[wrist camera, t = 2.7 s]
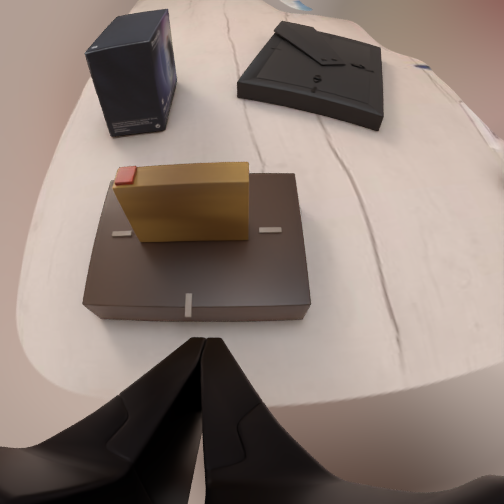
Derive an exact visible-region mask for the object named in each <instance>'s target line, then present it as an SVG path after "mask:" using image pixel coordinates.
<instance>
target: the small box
mask: <svg viewBox="0 0 504 504" xmlns="http://www.w3.org/2000/svg"><path fill="white" fill-rule="evenodd" d="M85 56H86V60H87V63H88V67H89V70H90V73H91V77H92V79H93V83H94V87H95V89H96V93H97V95H98V98H99V101H100V105H101V107H102V111H103V114H104V117H105V120H106V123H107V127H108V130H109V133H110V136H111V137H114V136H120V135H127V134H135V133H144V132H154V131H162V130H165V128H166V124H167V119H168V115H169V111H170V107H171V102H172V99H173V95H174V90H175V87H176V83H177V76H176V69H175V61H174V53H173V46H172V37H171V29H170V21H169V13H168V9H162V10H154V11H147V12H140V13H134V14H128V15H123V16H118V17H116V18H115V19H114V20H113V22H111V24H110V25H109V26H108V27H107V28H106V29H105V30H104V31H103V32H102V34H101V35H100V36H99V37H98V38H97V39H96V40H95V42H94V43H93V44H92V45H91V46H90V47H89V48H88V50H87V51H86V52H85Z"/></svg>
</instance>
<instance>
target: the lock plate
mask: <svg viewBox="0 0 504 504" xmlns="http://www.w3.org/2000/svg"><path fill="white" fill-rule="evenodd" d="M113 183H114V180H112V181H111V182H110V185H109V189H108V192H107V195H106V199H105V202H104V206H103V210H102V213H101V217H100V221H99V225H98V229H97V233H96V237H95V242H94V246H93V250H92V255H91V260H90V265H89V269H88V275H87V280H86V285H85V291H84V297H83V303H82V304H83V305H84V306H85V307H86V308H88V309H89V310H90V311H92V312H93V313H94V314H95V315H97V316H98V317H99V318H101V319H119V320H144V321H194V322H222V321H272V320H298V319H303V318H304V316H305V314H306V312H307V311H308V309H309V307H310V305H311V299H310V290H309V280H308V271H307V263H306V254H305V246H304V238H303V230H302V222H301V215H300V207H299V200H298V193H297V186H296V180H295V174H294V173H249V235H248V240H220V241H172V242H140V241H139V239H138V238H137V236H136V234H135V232H134V230H133V228H132V226H131V225H130V223H129V221H128V219H127V217H126V215H125V213H124V211H123V209H122V207H121V205H120V203H119V201H118V199H117V197H116V195H115V193H114V191H113V189H112V187H113Z"/></svg>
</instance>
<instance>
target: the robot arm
mask: <svg viewBox="0 0 504 504" xmlns="http://www.w3.org/2000/svg"><path fill="white" fill-rule="evenodd" d="M119 395H120V396H119ZM119 395H117V396H116V397H114V398H113V399H112V400H110V401H109V402H108V403H106V404H105V405H104V406H102V407H101V408H99V409H98V410H97V411H95V412H94V413H92V414H91V415H89V416H87V417H86V418H84V419H83V420H81V421H79V422H78V423H76V424H74V425H72V426H71V427H69V428H67V429H65V430H63V431H62V432H60V433H58V434H56V435H55V436H53V437H51V438H49V439H47V440H46V441H44V442H42V443H40V444H38V445H35V446H32V447H27V448H8V447H0V504H188V499H189V494H190V489H191V483H192V479H193V474H194V469H195V464H196V459H197V454H198V449H199V444H200V439H201V434H202V433H203V452H204V468H205V484H206V496H205V504H504V476H496V475H486V476H482V477H480V478H477V479H475V480H472V481H470V482H468V483H466V484H464V485H461V486H459V487H456V488H453V489H450V490H445V491H441V492H431V493H419V492H408V491H401V490H394V489H386V488H381V487H375V486H369V485H364V484H359V483H354V482H349V481H345V480H343V479H340V478H339V477H337V476H335V475H333V474H332V473H330V472H329V471H328V470H326V469H325V468H324V467H323V466H322V465H321V464H319V462H318V461H316V460H315V459H314V458H313V457H312V456H311V455H310V454H309V453H308V452H307V451H306V450H305V449H304V448H303V447H302V446H301V445H299V444H298V442H296V441H295V440H294V439H293V438H292V437H291V436H290V435H289V433H288V432H286V430H285V429H284V428H283V427H282V426H281V425H280V424H279V423H278V421H277V420H276V419H275V417H274V416H273V415H272V414H271V412H270V411H269V409H268V408H267V407H266V405H265V404H264V402H262V399H261V398H260V397H259V395H258V394H257V392H256V391H255V389H254V388H253V386H252V385H251V383H250V382H249V380H248V379H247V377H246V376H245V374H244V372H243V371H242V369H241V368H240V366H239V365H238V363H237V362H236V360H235V359H234V357H233V355H232V354H231V352H230V351H229V349H228V348H227V346H226V344H225V343H224V341H223V340H222V338H207V339H206V338H203V337H192V338H190V339H189V340H188V341H186V342H185V343H184V344H183V345H181V346H180V347H179V348H177V349H176V350H175V351H174V352H172V353H171V354H170V355H169V356H167V357H166V358H165V359H164V360H162V361H161V362H160V363H158V364H157V365H156V366H155V367H153V368H152V369H151V370H150V371H148V372H147V373H146V374H144V375H143V376H142V377H141V378H139V379H138V380H137V381H135V382H134V383H133V384H131V385H130V386H129V387H128V388H126V389H125V390H124V391H122V392H121V393H120V394H119Z"/></svg>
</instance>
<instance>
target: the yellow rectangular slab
mask: <svg viewBox="0 0 504 504" xmlns="http://www.w3.org/2000/svg"><path fill="white" fill-rule="evenodd" d="M112 189H113V191H114V193H115V195H116V197H117V199H118V201H119V203H120V205H121V207H122V209H123V211H124V213H125V215H126V217H127V219H128V221H129V223H130V225H131V226H132V228H133V230H134V232H135V234H136V236H137V238H138V239H139V241H140V242H172V241H220V240H248V235H249V163H248V162H219V163H193V164H175V165H159V166H146V167H136V166H129V167H119V169H118V170H117V173H116V177H115V180H114V183H113V187H112Z"/></svg>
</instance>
